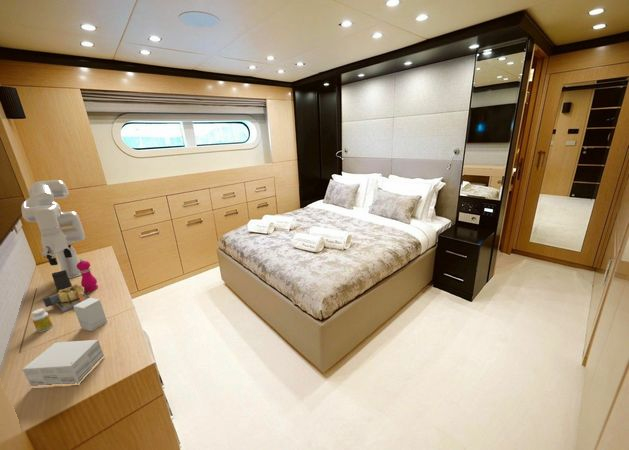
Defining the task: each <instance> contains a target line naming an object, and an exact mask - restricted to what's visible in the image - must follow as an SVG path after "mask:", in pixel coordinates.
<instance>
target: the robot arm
mask: <svg viewBox="0 0 629 450" xmlns="http://www.w3.org/2000/svg"><path fill="white" fill-rule="evenodd" d="M28 194H29V197H28V198H27V199H26V200H24V201H23V202H22V204H21V215H22V217H23V219H24V220H25V222H29V223H33V222H36V223H37V225H38V229H39V231H40V233H41V236H40V240H41V246H42V249H43V251H42V252H41V255H42V256H43V257H44V258H46V259H47V260H48V263H49V265H50V266H58V265H59V266H60V269H61V270H60V271H64V270H66V272H67V275H68V277H69V280H70V279H73V278H78V277H79V276H82V274H81V273H80V271H79V269H77V264H78V263H79V262H80V259H79V257H78V254H77V251H76V249H75V248H74V247H73V246H72V243H73V244H74V243H78V242H81V241H84V240H85V239H86V234H85V230H84V227H83V224H82V222H81V219H80V218H81V217H80V216H79V214H78V213H77V212H76V211H72V210H71V211H62V209H61V206H60V204H59V203H58V202H56V201H55V200H56V199H65V198H68V197H69V195H70V192H69V189H68V187H67V185H66V183H65V182H63V180H60V179H51V180H41V181H35V182H34V183H33V184H31V188H29V189H28ZM67 227H70V228H67ZM62 228H63V229H62Z"/></svg>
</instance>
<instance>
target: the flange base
mask: <svg viewBox="0 0 629 450" xmlns="http://www.w3.org/2000/svg"><path fill="white" fill-rule="evenodd" d="M73 291H75V290H71V291H68V292H67V293H70V292H73ZM78 297H79V298H78V299H75V300H72V301H69V302H59V303H56V304H55V305H56V306H57V307H58V309H59V310H60V311H61V312H62V313H65V312H67V311H69V310H72V309H74V307H73V306H74V305H76V304H78V303H80V302H82V301H84V300H86V299H88V298H91V296H89V295H87V294H86V293H85V292H84V294H83V295H82V294H81V293H80V294H78Z"/></svg>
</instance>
